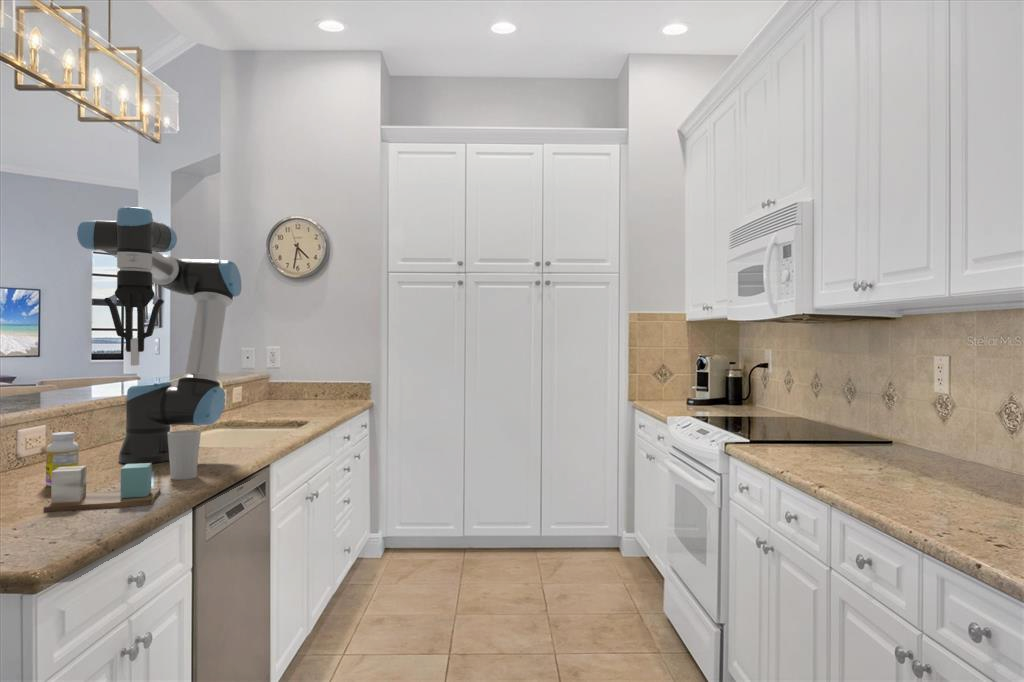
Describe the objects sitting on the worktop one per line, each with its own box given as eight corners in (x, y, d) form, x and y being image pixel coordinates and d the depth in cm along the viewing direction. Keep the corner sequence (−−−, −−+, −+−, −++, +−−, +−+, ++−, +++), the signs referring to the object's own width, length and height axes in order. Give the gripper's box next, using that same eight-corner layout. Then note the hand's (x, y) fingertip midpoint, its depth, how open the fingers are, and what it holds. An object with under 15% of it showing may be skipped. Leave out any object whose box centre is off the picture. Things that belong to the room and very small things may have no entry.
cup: (186, 481, 163) (186, 434, 163) (159, 479, 165) (160, 433, 165) (206, 474, 171) (207, 430, 171) (181, 473, 173) (182, 429, 173)
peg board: (61, 498, 144) (61, 464, 144) (160, 492, 151) (160, 459, 151) (43, 511, 133) (44, 475, 133) (151, 504, 140) (152, 469, 140)
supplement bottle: (50, 482, 159) (50, 431, 159) (81, 480, 162) (82, 430, 162) (42, 488, 153) (43, 435, 153) (74, 486, 156) (75, 434, 156)
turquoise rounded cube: (125, 492, 145) (126, 464, 145) (151, 491, 147) (151, 462, 147) (120, 498, 141) (121, 468, 141) (146, 496, 142) (147, 467, 142)
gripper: (100, 268, 151) (101, 366, 151) (162, 270, 156) (162, 366, 156) (107, 270, 157) (107, 364, 158) (166, 272, 162) (166, 363, 163)
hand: (135, 364), depth 157 cm, fingers closed
